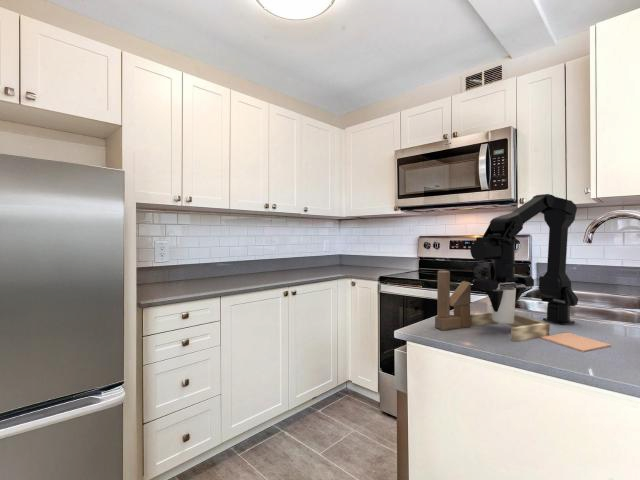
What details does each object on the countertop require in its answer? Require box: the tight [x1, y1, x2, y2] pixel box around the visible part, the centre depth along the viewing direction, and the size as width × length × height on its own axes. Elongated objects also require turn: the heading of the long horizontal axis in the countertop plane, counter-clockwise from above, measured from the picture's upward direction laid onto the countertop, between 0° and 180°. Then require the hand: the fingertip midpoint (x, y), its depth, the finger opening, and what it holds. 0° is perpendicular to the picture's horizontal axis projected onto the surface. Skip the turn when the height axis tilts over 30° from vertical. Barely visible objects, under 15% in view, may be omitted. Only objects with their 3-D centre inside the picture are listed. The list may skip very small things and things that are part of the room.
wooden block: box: [434, 269, 472, 331], centre depth 105 cm, size 4×11×18 cm, turn 108°
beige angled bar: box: [470, 311, 550, 342], centre depth 102 cm, size 14×16×4 cm
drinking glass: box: [491, 286, 516, 324], centre depth 101 cm, size 7×7×10 cm
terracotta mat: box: [540, 332, 612, 353], centre depth 91 cm, size 11×11×1 cm
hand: (503, 310), depth 101 cm, fingers closed on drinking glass, 5 cm apart
